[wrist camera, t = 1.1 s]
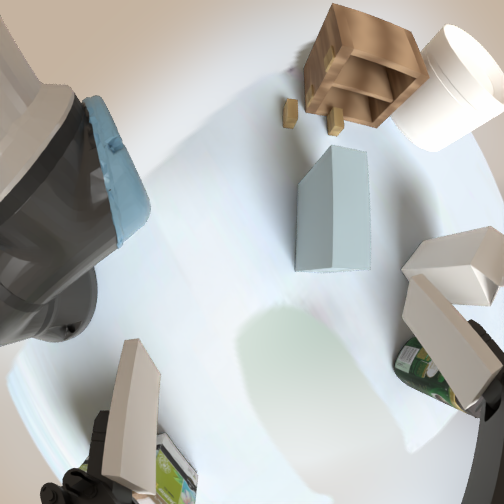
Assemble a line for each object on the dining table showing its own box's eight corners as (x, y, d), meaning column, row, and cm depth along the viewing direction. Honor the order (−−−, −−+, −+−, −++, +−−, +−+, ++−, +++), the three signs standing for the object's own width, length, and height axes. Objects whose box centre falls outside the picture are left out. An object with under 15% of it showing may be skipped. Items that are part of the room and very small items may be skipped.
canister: (458, 145, 44) (523, 107, 24) (412, 158, 42) (491, 109, 22) (421, 81, 45) (472, 31, 25) (370, 84, 43) (424, 16, 23)
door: (295, 271, 38) (332, 267, 25) (297, 184, 39) (331, 144, 26) (323, 273, 38) (370, 269, 25) (324, 188, 39) (366, 152, 26)
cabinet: (283, 127, 40) (314, 57, 24) (283, 65, 41) (306, -4, 25) (378, 146, 41) (436, 98, 25) (369, 84, 43) (411, 32, 27)
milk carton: (399, 269, 40) (495, 261, 21) (422, 240, 41) (512, 219, 22) (421, 302, 40) (513, 308, 21) (442, 271, 41) (530, 265, 22)
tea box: (164, 428, 34) (144, 491, 19) (199, 474, 33) (195, 539, 19) (90, 448, 32) (53, 498, 17) (125, 491, 31) (103, 545, 17)
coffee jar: (440, 353, 39) (520, 374, 21) (417, 392, 38) (492, 428, 20) (411, 327, 39) (499, 345, 21) (384, 370, 38) (467, 409, 20)
